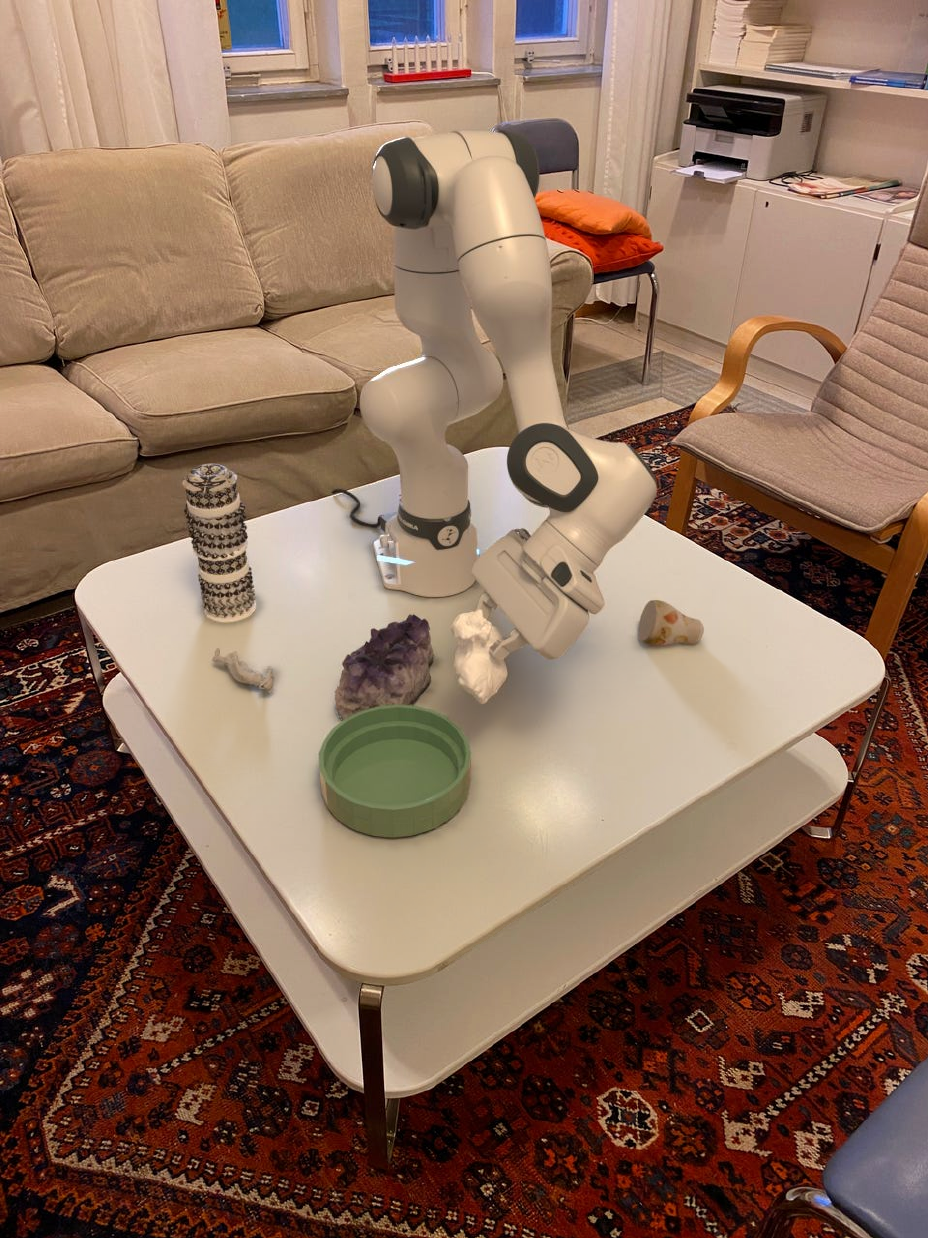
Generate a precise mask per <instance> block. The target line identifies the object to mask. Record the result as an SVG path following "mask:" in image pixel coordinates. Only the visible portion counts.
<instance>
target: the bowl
mask: <svg viewBox="0 0 928 1238" xmlns="http://www.w3.org/2000/svg"><path fill="white" fill-rule="evenodd" d="M463 731H464V730H462V728H461V727H460V726H458V724H456V723H455V722H454V721H453V720H452V719H450V718H449V717H448V716H446V715H444V714H442V713H440V712H438V711H436V710H434V709H431V708H427V707H422V706H419V705H412V704H411V705H399V704H396V705H385V706H378V707H374V708H370V709H366V710H363V711H360V712H358V713H356V714H354V715H352V716H350V717H348V718H346V719H344V720H343V719H342V720H341V721H340V722H338V724H336V725H335V726H334V727H333V728H332V729H331V730H330V731H329V733H328V734H326V737H325V738H324V739H323V741H322V744H321V747H320V749H319V752H318V764H319V765H318V767H319V778H320V787H321V796H322V798H323V801H324V803H325V805H326V807H327V809H328V810H329V812H331V814H332V815H333V816H334V817H335V818H336V819H337V820H338V821H339V822H340V823H342V824H344V825H345V826H347V827H349V829H352V830H354V831H357V832H359V833H363V834H366V835H368V836H372V837H373V836H374V837H383V838H403V837H410V836H412V837H413V836H415V835H418V834H422V833H425V832H428V831H431V830H435V829H436V828H437V827H439V826H442V825H443V824H444V823H447V822H448V821H450V820H451V818H452V817H453V816H454V815H456V813H457V812H458V811H459V810H460V809H461V808H462V807H463V806H464V803H465V802H466V800H467V798H468V796H469V795H470V794H469V793H470V786H471V776H472V775H471V773H472V770H471V769H472V766H471V765H472V751H471V747H470V743H469V739H468V738H467V736H466V734H465V733H464V732H463Z"/></svg>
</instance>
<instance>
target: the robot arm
mask: <svg viewBox="0 0 928 1238" xmlns="http://www.w3.org/2000/svg"><path fill="white" fill-rule="evenodd" d="M371 170H372V172H371V174H372V175H371V187H372V193H373V197H374V202H375V206H376V208H377V212H379V215H380V216H381V217H382V218H383V219H384V220H385V221H386V222H387V223H388V224H389V225H391V226H393V227H394V235H393V275H394V276H393V282H394V309H395V310H394V312H395V316H396V318H397V319H398V321H399V322H400V324H401V325H402V326H403V327H404V328H405V329H407V330H408V331H409V332H411V333H413V334H415V335H417V336H419V340H420V343H421V355H420V357H419V358H416V359H412V360H410V361H407V362H403V363H400V364H397V365H394V366H391V367H388V368H386V369H385V370H384V371H382V372H381V373H378V374H377V375H376V376H374V377H373V378H371V379H370V380H368V381H367V382H366V383H364V385H363V387H362V389H361V392H360V397H359V411H360V415H361V418H362V421H363V424H364V425H365V426H366V428H367V429H368V431H369V432H370V433H371V434H372V435H373V436H374V437H376V438H377V439H378V440H380V441H382V442H383V443H385V444H387V445H388V446H389V447H390V448H391V450H392V451H393V453H394V455H395V457H396V460H397V464H398V465H397V466H398V470H399V483H400V494H399V497H401V498H399V500H398V501H399V504H398V507H397V510H396V511H393V512H390V513H386V514H380V515H379V516H378V517H377V522H376V523H368V522H365V521H362V520H360V519H358V518H357V517H356V516H355V513H356V512H357V511H358V510H359V508H360V507H361V501H360V499H359V498H358V497H357V496H355V494H353V493H352V492H350V491H348V490H346V489H344V488H343V489H342V488H335V489H333V490H332V491H331V494H333V495H335V494H337V493H340V494H341V493H342V494H344V495H346V496H348V497H349V498H351V499H352V500H353V501H354V502H355V503H356V505H355V506H354V507H353V509H352V510H351V511H350V512H349V513H350V514H349V517H350V519H351V520H352V521H353V522H354V523H356V524H358V525H360V526H363V527H367V528H372V529H373V528H379V527H380V530H381V531H383V532H384V534H380V535H379V538H378V539H376V540H374V542H373V544H372V549H373V552H374V556H375V559H376V564H377V566H378V571H379V573H380V577H381V581H382V584H383V587H384V588H385V589H387V590H392V591H393V590H394V591H403V592H406V593H408V594H412V595H415V596H419V597H425V598H444V597H449V596H450V597H451V596H454V595H457V594H461V593H463V592H464V591H466V590H468V589H469V588H471V587H472V586H473V585H474V583H475V582H477V583H478V584H479V586H481V588H482V589H483V591H484V593H483V594H482V595H481V596H480V597H479V599H478V603H477V605H476V609H475V611H477V610H479V609H481V610H482V612H483V616H484V618H485V619H487V620H488V618H489V616H490V614H491V612H492V610H496V609H497V608H498V609H500V611H501V612H502V613H503V615H504V616H506V618H507V619H508V620H509V621H510V622H511V624H512V625H513V626H514V628H513V629H512V630H511V631H510V633H509V635H510V637H508V638H506V639H504V641H502V642H500V641H499V640H496V641H495V642H494V644H493V645H492V646H491V647H490V649H489V650H490V652H491V653H492V655H493V656H494V657H495V658H496V659H498V660H500V661H501V660H504V661H505V658H507V657H508V655H510V653H512V652H515V651H517V650H520V649H522V648H524V647H525V648H526V646H527V645H528V644H529V645H530V647H532V649H533V650H534V652H536V653H537V654H539V655H540V656H541V657H543V658H545V659H547V660H549V661H551V660H556V659H559V658H561V657H562V656H563V655H564V654H565V653H566V652H567V651H568V650H569V649H570V647H572V645H573V644H574V643H575V642H576V641H577V640H578V638H579V637H580V636H581V635H582V634H583V632H584V631H585V630H586V628H587V626H588V624H589V622H590V614H591V615H597V614H598V613H600V612H601V611H602V610H603V608H604V607H605V605H606V601H605V599H604V597H603V594H602V590H601V589H600V586H599V582H598V581H597V577H596V575H595V573H594V572H595V571H596V570H597V569H598V568H599V566H601V564H602V563H603V561H604V559H605V557H606V555H607V554H608V552H609V551H610V550H611V549H612V548H613V547H614V546H616V545H617V544H618V543H620V542H622V541H623V540H624V539H625V538H626V537H627V536H628V535H629V533H630V532H632V530H633V529H634V528H635V526H636V525H638V523H639V522H640V520H641V519H642V518H643V517H644V515H645V514H646V513H647V511H648V510H649V508H650V507H651V506H652V505H653V502H654V501H655V499H656V497H657V494H658V481H657V478H656V476H655V473H654V472H653V471H652V469H651V467H650V466H649V465H648V463H647V461H645V459H644V458H643V457H642V456H641V455H640V454H639V452H637V451H636V449H635V448H634V447H632V446H631V445H630V444H629V443H626V442H623V441H622V442H613V441H607V440H601V439H597V438H593V437H589V436H586V435H584V434H581V433H578V432H576V431H574V430H571V429H570V428H569V425H568V423H567V421H566V418H565V414H564V411H563V406H562V401H561V398H560V392H559V387H558V383H557V379H556V374H555V369H554V365H553V358H552V344H551V343H552V339H551V338H552V337H551V336H552V335H551V334H552V333H551V332H552V316H553V315H552V311H553V283H552V269H551V268H552V267H551V260H550V255H549V249H548V243H547V237H546V234H545V230H544V226H543V222H542V219H541V216H540V212H539V209H538V206H537V202H536V200H535V198H536V197H537V195H538V191H539V186H540V172H541V171H540V165H539V157H538V155H537V152H536V149H535V148H534V146H533V143H532V142H531V141H530V139H529V138H528V137H527V136H526V135H524V134H522V133H519V132H516V131H511V130H505V129H497V130H495V131H490V130H469V129H468V130H467V129H465V130H452V131H450V132H443V133H442V132H441V133H436V134H435V133H434V134H428V135H423V136H418V137H414V138H411V137H409V136H404V137H399V138H396V139H393V140H390V141H388V142H386V143H383V144H382V145H381V146H380V147H379V149H378V152H377V153H376V155H375V157H374V159H373V163H372V169H371ZM472 312H473V313H472ZM473 315H474V316H475V319H476V320H477V322H478V324H479V326H480V327H481V330H482V331H483V333H484V334H485V335H486V337H487V339H488V340H489V342H490V344H491V346H492V347H493V349H494V350H495V353H496V354H497V356H496V354H494V353H493V352H492V351H491V350H490V349H489V348H488V347H486V346H485V345H483V343H482V342H481V340H480V338H479V336H478V334H477V331H476V328H475V324H474V320H473ZM497 357H498V358H499V360H498V358H497ZM499 361H500V362H499ZM503 371H504V374H505V378H506V381H507V386H508V390H509V394H510V399H511V403H512V408H513V412H514V417H515V421H516V426H517V430H518V431H517V432H518V434H516V436H515V437H514V439H512V442H511V443H510V444H509V445H510V446H509V447H508V451H507V456H506V468H507V473H508V476H509V479H510V481H511V483H512V485H513V486H514V488H515V489H516V490H517V491H518V492H519V493H520V494H521V495H522V496H523V497H524V498H525V499H526V500H527V501H528V502H530V503H531V504H533V505H535V506H537V507H540V508H545V509H548V510H549V514H548V516H547V517H546V519H544V521H542V523H540V525H539V526H538V527H537V528H536V529H535V531H534V532H533V533H532V534H530V532H529V530H527V529H526V528H523V527H522V528H515V529H511V530H510V531H508V532H507V533H506V535H504V536H502V537H500V538H498V540H496V541H495V542H494V543H493V544H492V545H490V547H488V548H487V549H486V550H485V551H484V552H483V553H482V554H481V555H479V554H480V549H479V540H478V529H477V527H476V526H474V524H473V523H471V517H472V508H471V502H470V500H469V463H468V460H467V458H466V457H465V456H464V454H463V453H462V452H461V451H460V450H459V449H458V448H457V447H455V446H453V445H451V444H448V443H447V441H446V431H447V428H448V427H449V426H450V425H452V424H454V423H455V424H456V423H458V422H460V421H462V420H465V419H467V418H470V417H472V416H475V415H477V414H479V413H481V412H482V411H483V410H485V409H486V408H488V407H489V406H490V405H491V404H493V403H494V402H495V401H497V399H498V398H499V397H500V395H501V393H502V391H503V387H504V374H503Z"/></svg>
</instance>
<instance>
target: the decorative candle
mask: <svg viewBox="0 0 928 1238" xmlns="http://www.w3.org/2000/svg"><path fill="white" fill-rule="evenodd" d="M237 480H238V475H237V474H236V473H235V472H234V471H232V470H230V469H229V468H227V466H225V465H222V464H219V463H204V464H200V465H197V466H194V467H193V468H192V469H191V470H190V471H189V472H188V474H187V475H186V476H185V477H183V479H182V482H181V484H182V486H183V487H184V489H185V493H186V497H187V498H186V503H185V507H184V508H183V512H184V518H185V519H187V520H186V525H187V528H188V533H189V535H188V536H189V538H190V539H191V542H190V543H191V545H192V549H193V551H192V552H194V554H195V556H196V557H197V560H198V566H197V569H198V574H197V577H198V582H199V586H200V587H199V589H200V590H201V591H200V595H201V600H202V607H203V608H204V614H205V616H206V618H207V619H210V620H211V621H214V622H218V623H222V624H224V623H225V624H226V623H236V622H239V621H242V620H245V619H247V618H249V617H250V616H252V615H253V614H254V612H255V611H256V609H257V601H256V599H257V598H256V597H255V595H256V591H255V589H254V588H255V585H254V584H253V583H254V580H253V578H254V577H253V571H252V567H251V566H250V561H249V558H248V556H247V549H248V544H249V542H248V538H249V536H248V532H247V529H248V526H247V525H246V523H245V520H246V519H247V515H246V512H245V509H246V505H245V504H244V503H243V501H241V499H240V494H239V492H238V487H237V485H238V484H237Z"/></svg>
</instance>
